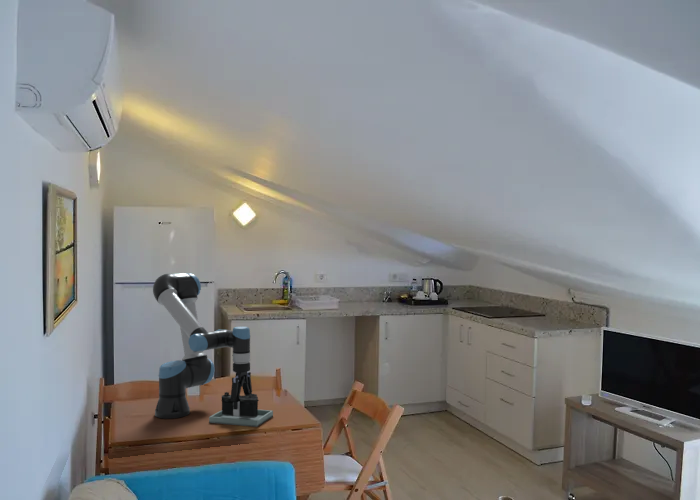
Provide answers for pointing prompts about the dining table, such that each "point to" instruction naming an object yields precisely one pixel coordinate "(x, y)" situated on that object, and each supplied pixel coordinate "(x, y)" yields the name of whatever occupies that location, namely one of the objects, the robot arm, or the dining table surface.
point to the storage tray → (241, 419)
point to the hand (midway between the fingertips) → (241, 413)
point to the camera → (241, 405)
